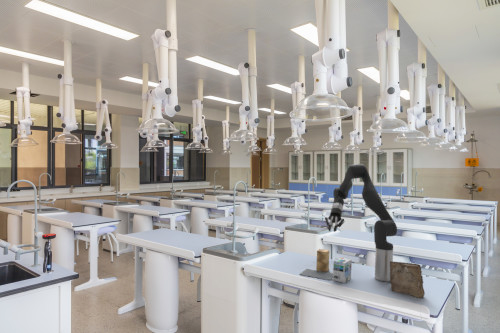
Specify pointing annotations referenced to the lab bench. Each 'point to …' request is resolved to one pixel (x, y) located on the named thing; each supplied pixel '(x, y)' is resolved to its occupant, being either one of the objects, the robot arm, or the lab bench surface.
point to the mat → (317, 274)
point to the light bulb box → (342, 270)
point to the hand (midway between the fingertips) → (332, 230)
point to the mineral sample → (406, 279)
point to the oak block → (322, 260)
